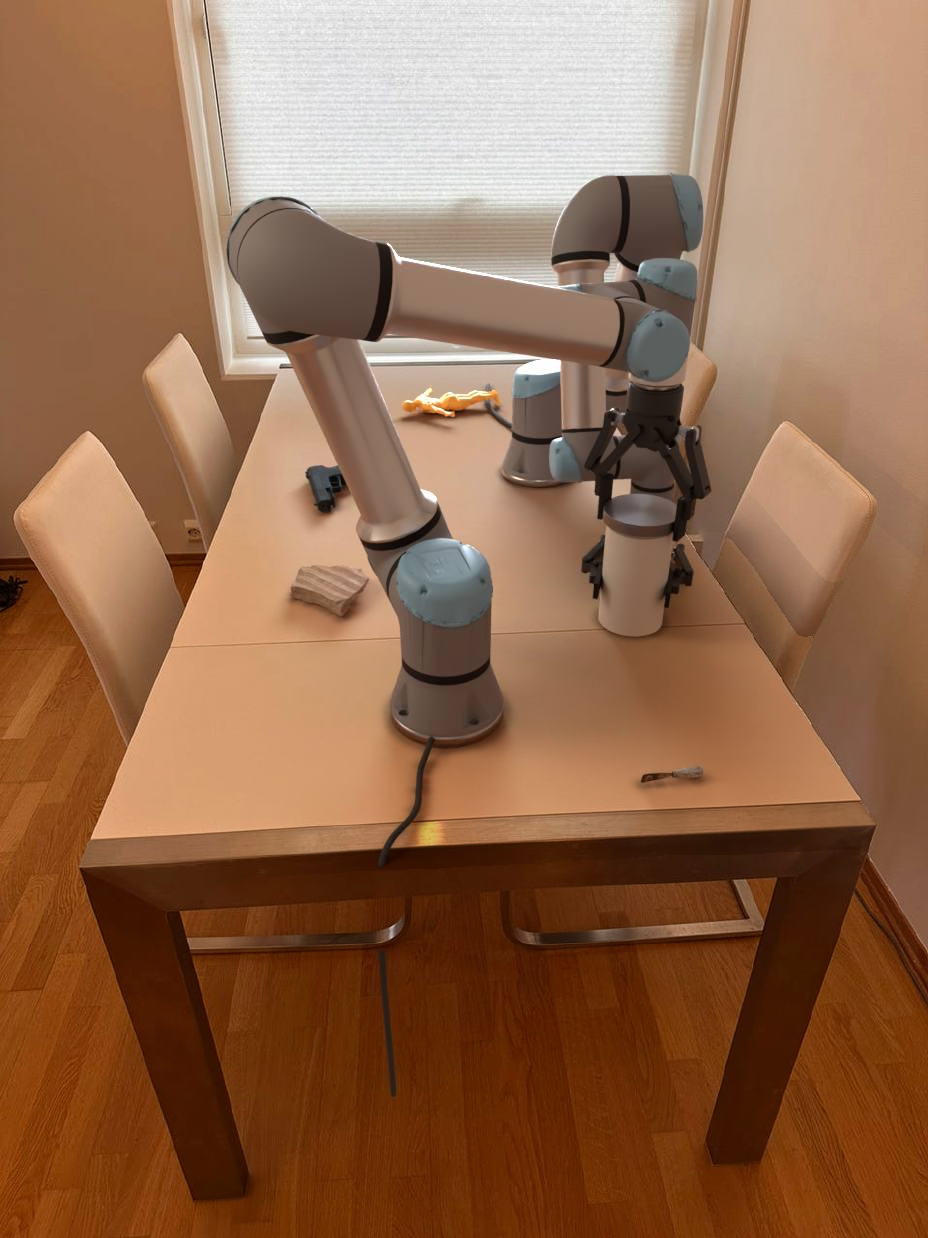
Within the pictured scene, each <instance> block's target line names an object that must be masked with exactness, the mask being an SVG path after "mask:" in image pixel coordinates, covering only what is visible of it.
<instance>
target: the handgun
mask: <svg viewBox="0 0 928 1238" xmlns="http://www.w3.org/2000/svg"><path fill="white" fill-rule="evenodd" d="M304 473H305V479H307V480H308V483H309V486H310V488H311V492H312V496H313V497H314V500H315V503H313V506H314V507H317V510H318V511H319V512H320V513H330V512H331V511H332V507H333V508H334V509H335V508H336V500H335V499H336V498H335V494H341V493H342V492H343V487H344V486H347V484H346V482H345V479H344V477H343V475H342V473H341V471H340V469H339V466H338V464H337V465H333V466H330V467H328V466H325V465H323V464H319V465H311V466H309V467H307V468H306V471H305V472H304Z"/></svg>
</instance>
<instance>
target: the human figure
mask: <svg viewBox="0 0 928 1238" xmlns="http://www.w3.org/2000/svg"><path fill="white" fill-rule="evenodd" d="M424 391H425V392H423V393H422V394H420V395H418V396H416V398H415V399H414V400H404V401H403V402H402V411H404V412H405V413H410V414H412V413H414V412H417V408H418V409H420V410H421V411H423V412H424V413H427V414H439V415H443V416H444V417H449V416H450V417H451V418H452V417H453V418H454V417H455V416H456V414H455V411H462V410H464V409H467V408H469V407H471V406H473V405H476V404H478V403H481V402H484V401H485V400H488V399H489V400H493V402H494V403H495V404H496V405H497V406H500V398H499V393H498V392H497V391H496V390H495V389H493V390H491V391H489V392H486V391H478V390H473V391H470V392H469V393H468V394H460V393H457V394H455V393H453V392H446V393H444V394H443V395H442V396H441V397H440V398H434V397H429V396H430V395H432V394H433V392H434V391H433V389H432V385H429V387H428V389H424ZM450 410H452V411H450Z"/></svg>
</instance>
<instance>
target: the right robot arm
mask: <svg viewBox="0 0 928 1238" xmlns="http://www.w3.org/2000/svg"><path fill="white" fill-rule="evenodd" d="M703 230H704V202H703V196H702V191H701V188H700V186H699V183H698V182H697V180H696V179H695V178H694V177H693V176H692V175H689V174H678V173H672V172H668V173H667V174H645V175H644V174H634V175H633V174H631V175H627V174H626V175H625V174H624V175H623V174H622V175H619V174H618V175H616V174H605V175H600V176H597V177H594V178H592V179H591V180H589V181H587V182H585V183H584V184H583V185H582V186H580V187H579V188H578V190H576V191H575V193H574V194H573V195H572V196H571V197H570V198H569V200H568V201H567V203H566V205H565V206H564V208H563V210H562V211H561V213H560V216H559V218H558V220H557V223H556V225H555V229H554V231H553V237H552V239H551V248H550V249H551V250H550V269H551V271H552V272H553V273H554V274H555V275H556V276H557V287H561V286H567V285H574V284H576V283H580V284H587V283H602V282H605V272H606V270H608V269H609V267H610V266H611V254H613V256H614V258H615V260H616V261H617V266H616V270H615V275H614V278H613V282H617V281H629V280H632V279H637V274H638V270H639V266H640V264H641V263H642V262H643V261H645V260H651V259H656V258H672V259H681V257H682V255H683V253H684V252H686V253H691V252H693V251H695V250H697V249H698V247H699V246H700V243H701V240H702V237H703ZM630 381H631V380H630V379H629V372H626V371H622V370H615V369H609V368H603V367H599V366H594V365H587V364H581V363H574V362H568V361H561V360H555V359H548V358H542V359H537V360H533V361H530V362H527V363H525V364H523V365H521V366H519V368H517V369H516V371H515V372H514V375H513V380H512V389H511V397H512V398H511V399H512V400H511V401H512V402H511V403H512V404H511V407H512V408H511V422H509V421H508V420H506V419H505V418H504V417H503V416H501V415H500V414H499V413H497V411H496V410H495V409H494V408H493V407H492V405H491V401H490V399H488V400H485V405H486V407H487V409H488V411H490V413H491V414H492V415H493V416H494V417H495V418H496V419H498V420H499V422H501V423H503V424H504V425H505V426H507V427H508V428H510V429H511V439H510V441H509V444H508V447H507V450H506V452H505V455H504V458H503V461H502V465H501V467H502V468H501V473H502V476H503V477H504V478H505V479H506V480H508V481H509V482H510V483H513V484H516V485H519V486H524V487H531V488H532V487H533V488H549V487H556V486H560V485H563V484H565V483H579V484H582V483H583V482H595V478H596V477H595V474H594V472H592V471H591V470H586V469H585V468H584V464H585V462H586V460H587V458H588V456H589V454H590V452H591V450H592V448H593V446H594V443H595V441H596V439H597V437H598V435H599V433H600V431H601V429H602V427H603V421H604V414H605V413H606V412H607V411H609V410H611V409H613V408H615V407H617V408H618V409H619V410H620V411H621V412H626V410H627V407H626V400H627V390H628V384H629V383H630ZM485 386H486V387H485V392H490V388H491V384H490V383H489V382H488V383H486V385H485ZM622 424H623V421H622V422H621V424H620V425H622ZM626 435H627V434H624V435H623V434H622V435H621V434H620V435H613V436H612V438H611V440H610V442H609V444H608V446H607V448H606V450H605V452H604V454H603V456H602V458H601V460H600V462H601V463H602V462H603V461H604V460H605V459H606V458H607V457H608V456H609V455H610V453H611V452H612V451H613V450H614V449H615V448H616V447H617V446H618V445H619V443H620V442H621V440H622V439H623V438H624V437H625V436H626ZM675 439H676V441H677V443H678V445H679V446H680V441H681V435H680V434H678V435H677V436H676V437H675ZM667 447H668V449H669V446H668V445H667ZM608 473H612V474H614V478H613V481H617V480H630V489H629V494H648V495H654V496H659V497H662V498H665V499H668V500H670V501H672V502H674V492H675V491H674V490H675V479H674V477H673V475H672V473H671V471H670V469H669V467H668V465H667V463H666V461H665V459H664V458H662V457H661V455H660V453H659V451H656V452H655V451H651V450H649V449H647V448H639V447H636V445H635V444H633V445H632V446H631V447H630V449H629V450H628V451H627V452H626V453H625V454H624V455H623V456H622V457H621V458H620V459H619V460H618V461H617V463H616V464H615V465H614V466H613V467H612V468H611V470H610V471H608ZM605 535H606V534H602V535H600V538H599V541H598V542H597V543H596V544H595V545H593V547H592V548H591V549H589V551H588V552H586V553H585V554H584V555H583V556H582V558H581V568H580V573H582V574H584V575H586V574H589V576H588V584H591V585H593V589H592V600H598V599H599V597H600V592H601V580H602V569H603V558H604V546H605ZM694 573H695V571H694V569H693V567H692V565H691V562H690V560H689V559H688V557H687V554H686V553H685V544H683V543H677V544H676V546H672V552H671V560H670V567H669V575H668V582H667V589H666V596H665V603H664V609H670V605H671V597H672V595H676V596H677V595H679V594H680V590H681V589H680V588H681V585H683V586H685V587H691V586H693V580H694Z"/></svg>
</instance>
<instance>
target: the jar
mask: <svg viewBox="0 0 928 1238" xmlns="http://www.w3.org/2000/svg"><path fill="white" fill-rule="evenodd" d="M605 526H606V527H605V534H604V535H605V546H604V558H603V569H602V580H601V588H600V592H599V604H598V615H597V616H598V618H597V619H598V622H599V623H600V625H601V626H602V627H603V628H604V629H605V630H607V631H609V632H610V633H612V634H613V633H614V634H617V635H619V636H624V637H631V638H632V637H633V638H635V637H645V636H646V637H647V636H649V635H652V634H654V633H656V632H657V631H659V630H660V628H662V625H663V619H664V612H665V608H664V603H665V596H666V589H667V582H668V575H669V567H670V560H671V561H672V557H671V552H672V547H673V543H674V541H672V538H673V532H672V533H670V534H667V535H663V536H657V537H637V536H630V535H626V534H622V533H619V532H617V531H614V530H612V529H611V528H609V527H608V526H607V525H606V524H605Z"/></svg>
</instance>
